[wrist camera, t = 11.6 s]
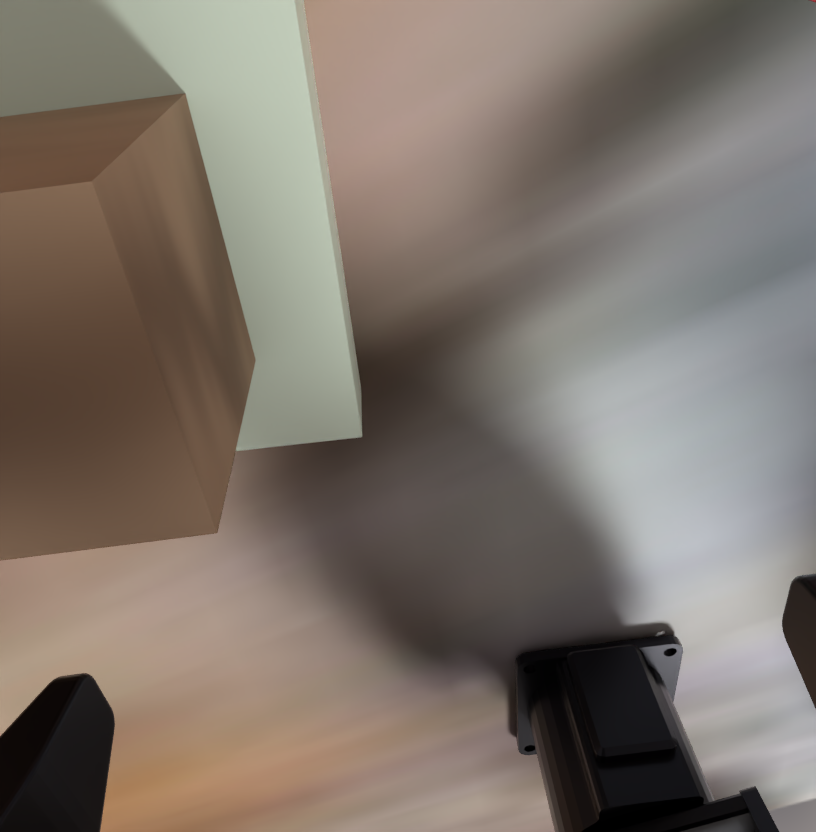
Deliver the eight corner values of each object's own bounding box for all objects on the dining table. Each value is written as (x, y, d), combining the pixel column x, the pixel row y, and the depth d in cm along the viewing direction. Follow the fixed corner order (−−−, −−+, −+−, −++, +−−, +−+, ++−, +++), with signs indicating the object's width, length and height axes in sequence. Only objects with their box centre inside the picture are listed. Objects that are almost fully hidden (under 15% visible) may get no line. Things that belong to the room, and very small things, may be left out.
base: (361, 378, 21) (362, 436, 19) (-7, 419, 21) (-55, 483, 18) (294, -67, 15) (283, -69, 12) (-227, -12, 15) (-344, -2, 12)
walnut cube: (255, 360, 17) (216, 533, 12) (10, 391, 17) (-129, 577, 12) (185, 93, 14) (91, 181, 9) (-121, 132, 14) (-388, 242, 9)
